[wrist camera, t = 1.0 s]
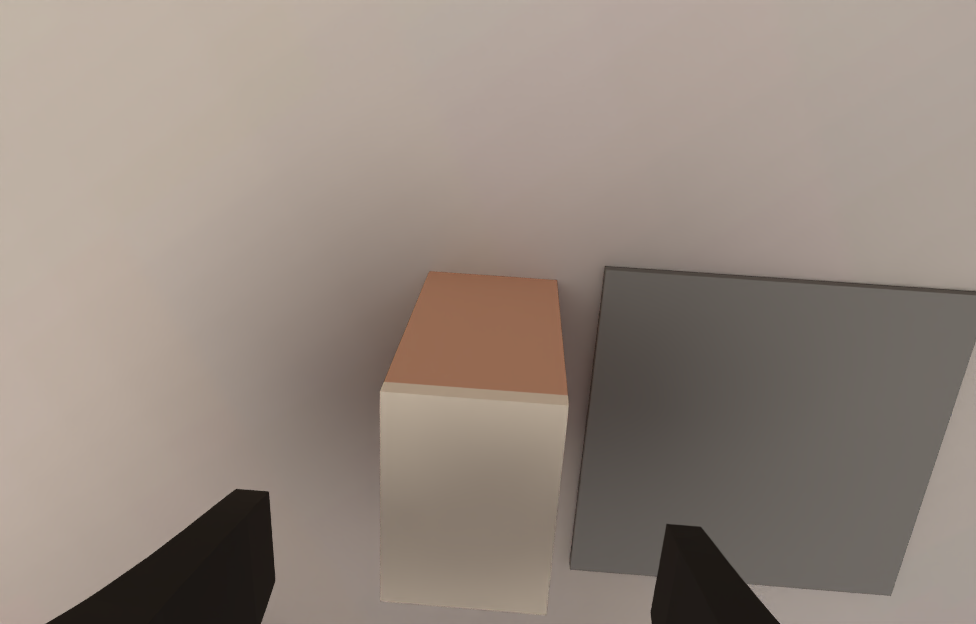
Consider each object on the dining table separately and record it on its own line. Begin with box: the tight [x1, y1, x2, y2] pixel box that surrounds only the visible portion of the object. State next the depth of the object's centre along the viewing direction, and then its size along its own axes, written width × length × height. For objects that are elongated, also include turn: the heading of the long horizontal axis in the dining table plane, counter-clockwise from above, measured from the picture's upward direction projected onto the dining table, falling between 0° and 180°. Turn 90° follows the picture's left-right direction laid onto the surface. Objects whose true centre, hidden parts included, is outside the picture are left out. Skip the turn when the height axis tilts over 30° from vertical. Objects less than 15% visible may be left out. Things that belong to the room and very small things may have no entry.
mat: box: [570, 266, 976, 596], centre depth 21 cm, size 10×10×1 cm
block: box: [380, 271, 569, 615], centre depth 18 cm, size 5×4×7 cm
